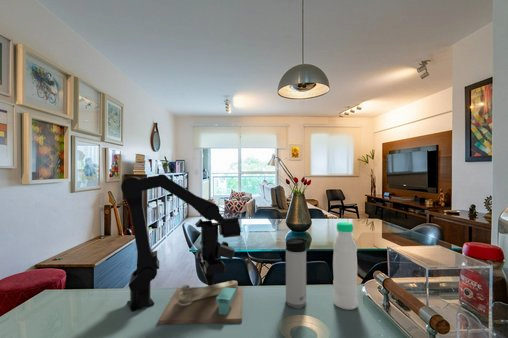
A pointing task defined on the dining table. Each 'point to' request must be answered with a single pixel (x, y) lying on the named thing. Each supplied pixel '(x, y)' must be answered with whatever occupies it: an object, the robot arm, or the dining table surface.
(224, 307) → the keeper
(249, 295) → the dining table surface
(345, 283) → the water bottle
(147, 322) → the dining table surface
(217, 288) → the link
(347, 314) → the dining table surface
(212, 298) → the base board
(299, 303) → the travel mug
